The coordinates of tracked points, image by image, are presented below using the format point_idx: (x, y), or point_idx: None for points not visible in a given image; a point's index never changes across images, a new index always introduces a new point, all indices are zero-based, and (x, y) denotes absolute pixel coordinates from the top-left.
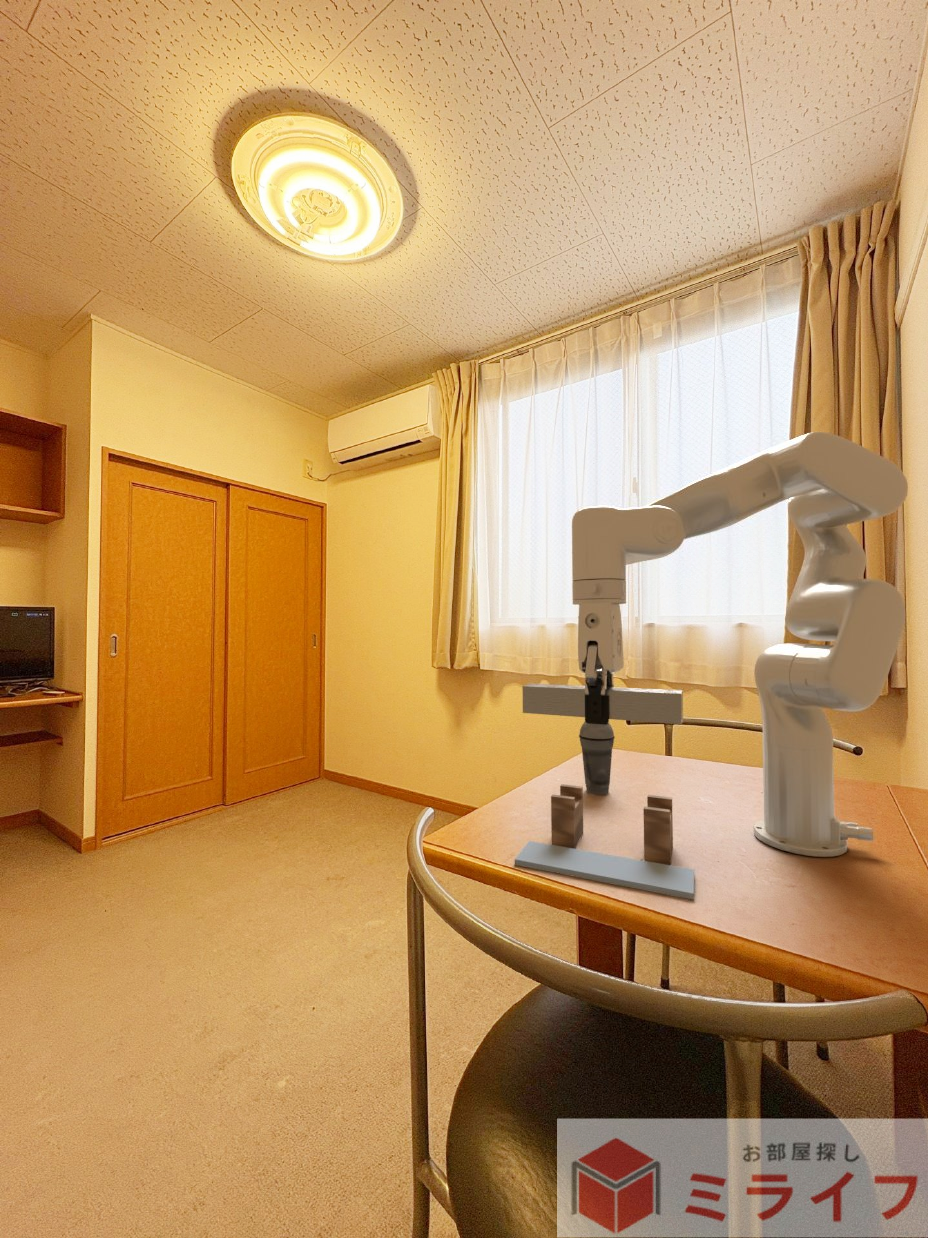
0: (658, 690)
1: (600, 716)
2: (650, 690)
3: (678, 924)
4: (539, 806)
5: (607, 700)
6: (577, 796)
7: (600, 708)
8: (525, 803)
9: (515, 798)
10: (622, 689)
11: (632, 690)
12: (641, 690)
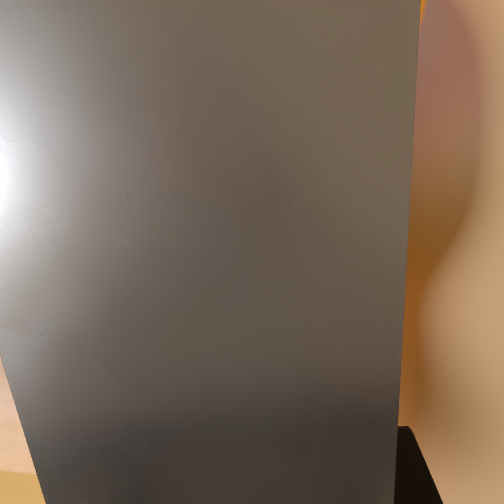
0: (96, 33)
1: (411, 431)
2: (162, 161)
3: (420, 10)
4: (14, 404)
5: (411, 493)
6: None
7: (431, 476)
8: (18, 433)
9: (4, 459)
10: (236, 489)
11: (288, 381)
12: (236, 280)
